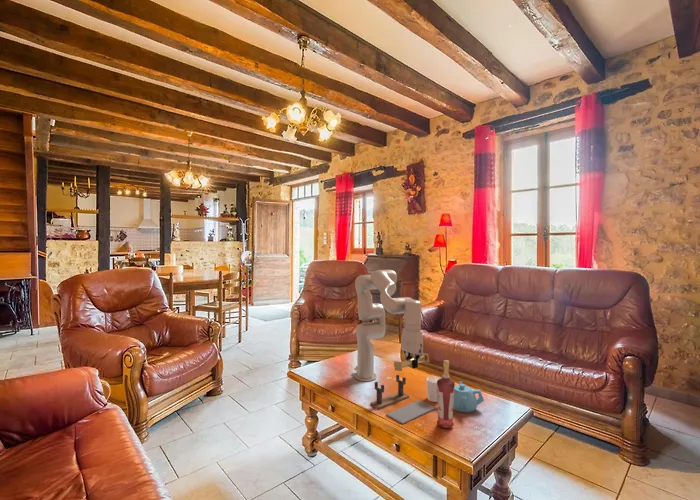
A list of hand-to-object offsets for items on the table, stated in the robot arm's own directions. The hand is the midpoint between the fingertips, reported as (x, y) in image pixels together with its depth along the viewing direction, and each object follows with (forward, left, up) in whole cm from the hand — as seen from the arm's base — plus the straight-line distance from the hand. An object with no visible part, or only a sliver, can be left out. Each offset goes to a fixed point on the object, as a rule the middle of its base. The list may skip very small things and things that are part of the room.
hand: (412, 366), depth 160 cm
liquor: (+17, +2, -21) cm, 28 cm away
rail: (0, 0, 0) cm, 1 cm away
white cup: (-2, +19, -21) cm, 29 cm away
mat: (0, 0, -21) cm, 21 cm away
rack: (-14, 0, -21) cm, 25 cm away
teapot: (+11, +23, -22) cm, 33 cm away
